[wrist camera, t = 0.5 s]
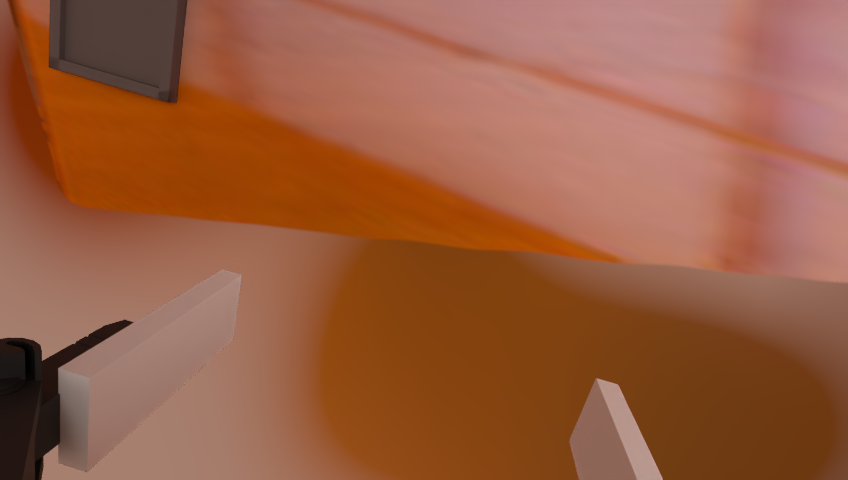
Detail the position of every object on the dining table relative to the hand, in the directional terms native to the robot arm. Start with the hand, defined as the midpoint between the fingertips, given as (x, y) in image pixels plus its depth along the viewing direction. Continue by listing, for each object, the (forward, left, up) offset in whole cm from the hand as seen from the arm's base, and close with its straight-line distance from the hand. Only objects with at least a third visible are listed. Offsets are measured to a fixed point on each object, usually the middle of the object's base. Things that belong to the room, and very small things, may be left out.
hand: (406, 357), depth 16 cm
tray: (-10, -34, -27) cm, 45 cm away
